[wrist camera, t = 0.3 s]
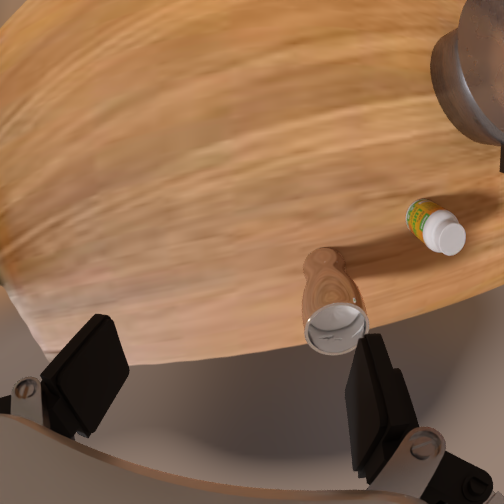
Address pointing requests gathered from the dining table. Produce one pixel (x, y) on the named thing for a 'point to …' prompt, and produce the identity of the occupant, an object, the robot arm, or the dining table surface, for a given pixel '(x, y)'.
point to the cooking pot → (460, 95)
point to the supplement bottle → (435, 227)
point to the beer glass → (331, 304)
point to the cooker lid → (484, 55)
